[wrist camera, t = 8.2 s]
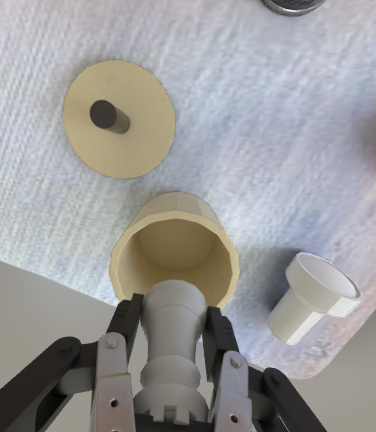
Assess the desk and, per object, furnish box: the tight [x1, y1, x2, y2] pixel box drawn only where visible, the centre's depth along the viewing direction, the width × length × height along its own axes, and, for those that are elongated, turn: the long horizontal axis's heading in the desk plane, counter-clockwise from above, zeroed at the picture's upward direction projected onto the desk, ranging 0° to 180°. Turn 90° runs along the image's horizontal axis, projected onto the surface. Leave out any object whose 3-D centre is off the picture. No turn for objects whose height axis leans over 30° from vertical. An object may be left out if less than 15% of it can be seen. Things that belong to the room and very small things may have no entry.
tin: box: [109, 192, 240, 317], centre depth 25 cm, size 11×11×10 cm
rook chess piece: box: [133, 279, 209, 425], centre depth 12 cm, size 4×4×8 cm
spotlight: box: [267, 252, 364, 345], centre depth 29 cm, size 8×11×8 cm
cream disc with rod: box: [63, 60, 175, 179], centre depth 23 cm, size 12×12×7 cm
